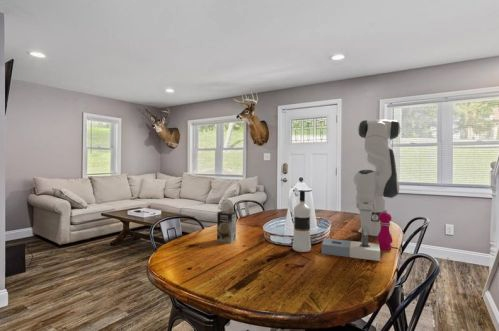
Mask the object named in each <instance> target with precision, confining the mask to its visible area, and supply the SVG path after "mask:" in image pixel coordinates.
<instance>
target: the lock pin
mask: <svg viewBox="0 0 499 331" xmlns="http://www.w3.org/2000/svg"><path fill="white" fill-rule="evenodd" d="M360 229H362V233H361V242H362V243H361V247H368V243H369V235H367V236H366V235H364V234H363V227H362V226H361V227H360ZM368 230H369V227H368Z"/></svg>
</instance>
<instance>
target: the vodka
mask: <svg viewBox="0 0 499 331" xmlns="http://www.w3.org/2000/svg"><path fill="white" fill-rule="evenodd" d="M305 192H306V191H305V190H299V204H296V205H295V206H294V208H293V217H294V218H293V243H292V249H293V250H294V251H295V252H299V253H308V252H310V251H311V250H312V245H311V207H310V206H309V205H308V204H306V200H305V199H306V193H305Z"/></svg>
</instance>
